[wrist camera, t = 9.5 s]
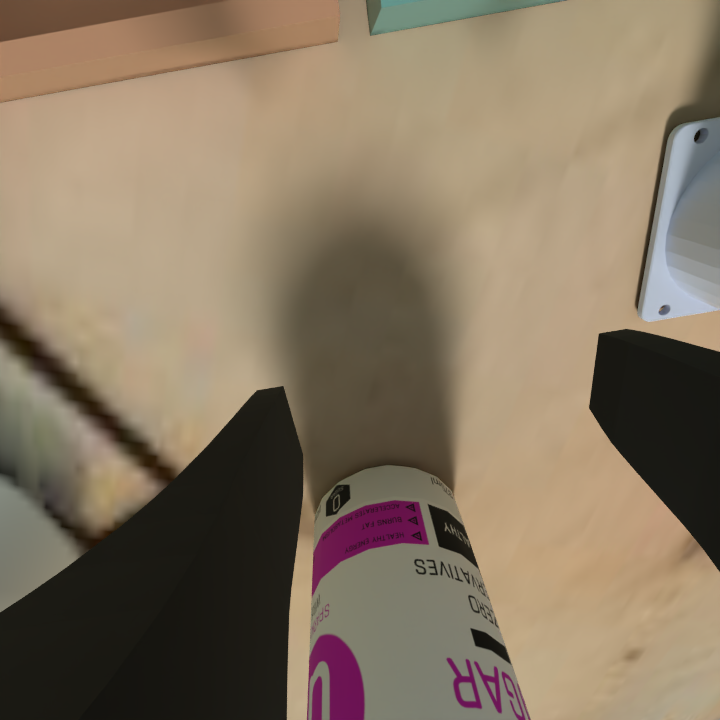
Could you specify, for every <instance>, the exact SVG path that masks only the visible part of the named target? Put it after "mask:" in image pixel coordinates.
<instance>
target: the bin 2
mask: <svg viewBox="0 0 720 720" xmlns="http://www.w3.org/2000/svg"><path fill="white" fill-rule="evenodd" d="M560 1H565V0H366V3H367V12H368V21H369V29H370V36H372V35H377V34H383V33H388V32H394V31H399V30H405V29H410V28H416V27H421V26H427V25H432V24H438V23H443V22H449V21H455V20H460V19H466V18H471V17H477V16H482V15H488V14H493V13H499V12H504V11H510V10H515V9H521V8H526V7H532V6H537V5H543V4H549V3H554V2H560Z"/></svg>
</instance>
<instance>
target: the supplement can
mask: <svg viewBox="0 0 720 720" xmlns="http://www.w3.org/2000/svg"><path fill="white" fill-rule="evenodd" d="M307 720H531V719H530V716H529V713H528V710H527V707H526V704H525V701H524V699H523V696H522V693H521V690H520V687H519V684H518V681H517V678H516V675H515V672H514V669H513V667H512V664H511V661H510V658H509V655H508V652H507V649H506V646H505V643H504V640H503V637H502V635H501V632H500V629H499V626H498V623H497V620H496V617H495V614H494V611H493V608H492V605H491V603H490V600H489V597H488V594H487V591H486V588H485V585H484V582H483V579H482V576H481V573H480V571H479V568H478V565H477V562H476V559H475V556H474V553H473V550H472V547H471V544H470V541H469V539H468V536H467V533H466V530H465V527H464V524H463V521H462V518H461V515H460V512H459V509H458V507H457V504H456V501H455V498H454V496H453V493H452V491H451V490H450V489H449V488H448V487H447V486H446V485H445V484H444V483H443V482H442V481H441V480H440V479H439V478H438V477H436V476H434V475H431V474H429V473H426V472H424V471H421V470H419V469H416V468H411V467H405V466H393V465H384V466H378V467H373V468H367V469H364V470H362V471H360V472H358V473H355V474H353V475H351V476H349V477H347V478H345V479H343V480H341V481H339V482H338V483H337V484H336V485H335V486H334V487H333V488H332V489H331V490H330V491H329V492H328V493H327V494H326V495H325V496H324V497H323V498H322V500H321V502H320V505H319V507H318V509H317V512H316V514H315V525H314V551H313V577H312V603H311V629H310V655H309V681H308V707H307Z"/></svg>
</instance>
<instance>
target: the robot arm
mask: <svg viewBox="0 0 720 720" xmlns="http://www.w3.org/2000/svg"><path fill="white" fill-rule="evenodd" d="M698 130H700V136H699V138H698V140H697V141H696V142H694V136H695V134H696V132H697V131H698ZM663 305H664V308H663V309H662V310H661V311H659V309H660V308H661V307H662V306H663ZM717 310H720V117H716V118H711V119H705V120H699V121H693V122H688V123H683V124H680V125H678V126H677V127H676V128H674V129H673V131H672V132H671V133H670V135H669V138H668V141H667V147H666V152H665V158H664V164H663V169H662V175H661V181H660V186H659V192H658V198H657V203H656V209H655V215H654V220H653V226H652V232H651V237H650V243H649V248H648V254H647V260H646V265H645V271H644V277H643V282H642V288H641V294H640V299H639V305H638V311H637V312H638V316H639V317H640V318H641V319H643V320H645V321H649V322H651V321H657V320H663V319H669V318H675V317H681V316H687V315H693V314H699V313H705V312H711V311H717ZM589 409H590V410H591V412H592V413H593V415H594V417H595V418H596V420H597V422H598V423H599V425H600V426H601V428H602V429H603V431H604V432H605V434H606V435H607V437H608V438H609V440H610V441H611V443H612V444H613V445H614V446H615V448H616V449H617V450H618V451H619V452H620V454H621V455H622V456H623V457H624V458H625V459H626V460H627V462H628V463H629V464H630V465H631V466H632V467H633V469H634V470H635V471H636V472H637V473H638V474H639V475H640V476H641V478H642V479H643V480H644V481H645V482H646V483H647V484H648V485H649V487H650V488H651V489H652V490H653V491H654V492H655V493H656V495H657V496H658V497H659V498H660V499H661V500H662V501H663V502H664V504H665V505H666V506H667V507H668V508H669V509H670V510H671V511H672V513H673V514H674V515H675V516H676V517H677V518H678V519H679V520H680V522H681V523H682V524H683V525H684V526H685V527H686V528H687V530H688V531H689V532H690V533H691V535H692V536H693V537H694V538H695V539H696V541H697V542H698V543H699V544H700V546H701V547H702V548H703V549H704V551H705V552H706V553H707V555H708V556H709V558H710V559H711V560H712V562H713V563H714V565H715V566H716V567H717V569H718V570H719V571H720V352H718V351H714V350H711V349H707V348H703V347H700V346H696V345H692V344H689V343H685V342H681V341H678V340H674V339H670V338H666V337H662V336H658V335H654V334H650V333H646V332H641V331H635V330H629V329H624V330H618V331H612V332H606V333H600V334H599V337H598V345H597V352H596V360H595V367H594V375H593V383H592V390H591V398H590V405H589ZM302 499H303V453H302V449H301V446H300V442H299V439H298V436H297V432H296V429H295V425H294V422H293V418H292V415H291V411H290V408H289V404H288V401H287V397H286V394H285V390H284V387H283V386H281V387H275V388H269V389H263V390H257V391H256V392H255V393H254V394H253V395H252V396H251V397H250V398H249V400H248V401H247V402H246V403H245V404H244V405H243V406H242V407H241V409H240V410H239V411H238V412H237V413H236V414H235V416H234V417H233V418H232V419H231V420H230V421H229V422H228V424H227V425H226V426H225V427H224V428H223V429H222V430H221V431H220V432H219V434H218V435H217V436H216V437H215V438H214V439H213V440H212V441H211V443H210V444H209V445H208V446H207V447H206V448H205V449H204V450H203V451H202V452H201V453H200V454H199V455H198V456H197V457H196V458H195V459H194V460H193V461H192V462H191V463H190V464H189V465H188V466H187V467H186V468H185V469H184V470H183V471H182V472H181V473H180V474H179V475H178V476H177V477H176V478H175V479H174V480H173V481H172V482H171V483H170V484H169V485H168V486H167V487H166V488H165V489H164V490H163V491H161V492H160V493H159V494H158V495H157V496H156V497H155V498H154V499H153V500H151V501H150V502H149V503H148V504H147V505H146V506H144V507H143V508H142V509H141V510H140V511H139V512H137V513H136V514H135V515H134V516H133V517H132V518H130V519H129V520H128V521H127V522H125V523H124V524H123V525H122V526H121V527H119V528H118V529H117V530H115V531H114V532H113V533H111V534H110V535H109V536H108V537H106V538H105V539H104V540H102V541H101V542H100V543H98V544H97V545H96V546H94V547H93V548H92V549H90V550H89V551H88V552H86V553H85V554H84V555H82V556H81V557H80V558H78V559H77V560H76V561H74V562H73V563H72V564H71V565H69V566H68V567H67V568H65V569H64V570H62V571H61V572H60V573H58V574H57V575H55V576H54V577H52V578H51V579H49V580H48V581H47V582H45V583H44V584H42V585H41V586H40V587H38V588H37V589H35V590H34V591H32V592H31V593H29V594H28V595H26V596H25V597H23V598H22V599H20V600H19V601H17V602H16V603H14V604H13V605H11V606H10V607H8V608H6V609H5V610H4V611H2V612H0V720H287V666H288V634H289V609H290V597H291V587H292V579H293V571H294V563H295V556H296V548H297V540H298V532H299V524H300V516H301V508H302Z"/></svg>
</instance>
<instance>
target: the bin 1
mask: <svg viewBox="0 0 720 720" xmlns="http://www.w3.org/2000/svg"><path fill="white" fill-rule="evenodd" d="M339 21H340V12H339V5H338V0H0V103H1V102H6V101H12V100H17V99H23V98H29V97H34V96H40V95H45V94H51V93H56V92H62V91H67V90H73V89H78V88H84V87H89V86H95V85H100V84H106V83H111V82H117V81H123V80H128V79H134V78H139V77H145V76H150V75H156V74H161V73H167V72H172V71H178V70H183V69H189V68H194V67H200V66H206V65H211V64H217V63H222V62H228V61H233V60H239V59H244V58H250V57H255V56H261V55H266V54H272V53H277V52H283V51H289V50H294V49H300V48H305V47H311V46H316V45H322V44H327V43H333V42H338V33H339Z"/></svg>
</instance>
